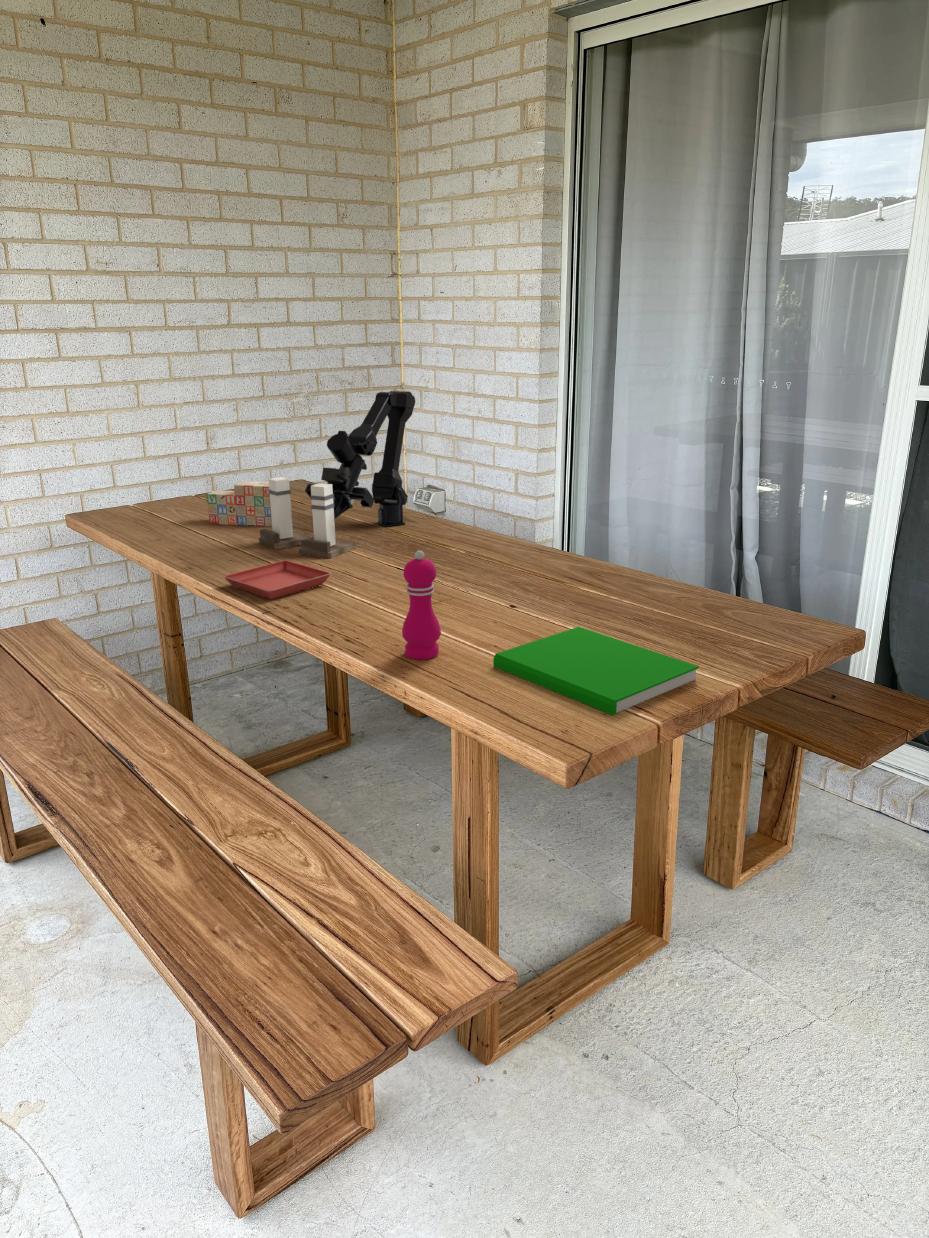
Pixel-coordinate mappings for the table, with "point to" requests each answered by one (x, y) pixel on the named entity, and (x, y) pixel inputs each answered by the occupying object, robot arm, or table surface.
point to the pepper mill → (420, 610)
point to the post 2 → (323, 512)
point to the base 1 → (274, 542)
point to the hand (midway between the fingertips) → (328, 521)
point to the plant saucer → (278, 579)
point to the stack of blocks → (241, 505)
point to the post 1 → (281, 507)
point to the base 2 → (324, 548)
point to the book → (595, 669)
